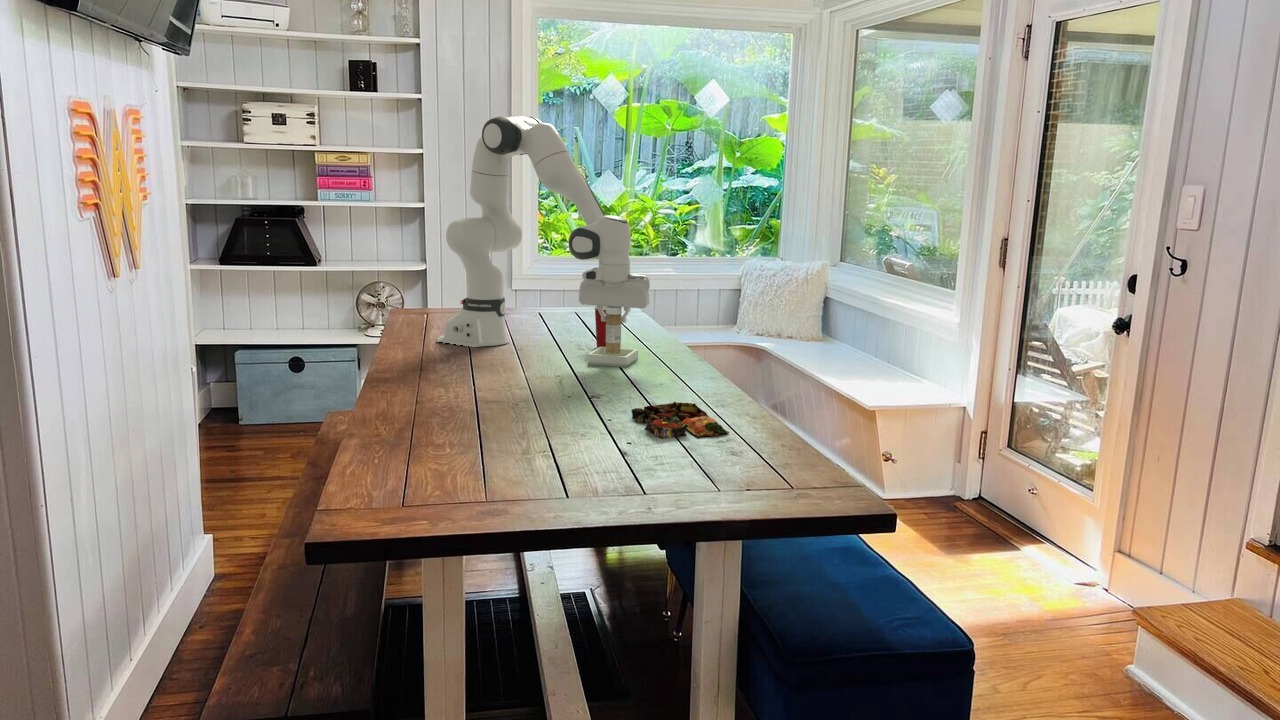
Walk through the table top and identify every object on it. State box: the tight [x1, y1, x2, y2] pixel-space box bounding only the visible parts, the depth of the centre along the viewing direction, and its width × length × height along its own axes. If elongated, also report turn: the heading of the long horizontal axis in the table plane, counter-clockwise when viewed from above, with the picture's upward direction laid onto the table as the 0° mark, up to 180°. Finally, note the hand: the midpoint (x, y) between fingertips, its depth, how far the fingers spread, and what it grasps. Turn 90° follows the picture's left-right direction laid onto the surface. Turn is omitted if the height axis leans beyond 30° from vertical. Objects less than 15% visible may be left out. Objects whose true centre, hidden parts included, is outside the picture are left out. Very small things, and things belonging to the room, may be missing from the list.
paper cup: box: [593, 305, 608, 349], centre depth 284 cm, size 8×8×14 cm
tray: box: [587, 347, 639, 368], centre depth 266 cm, size 12×12×3 cm
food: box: [631, 401, 730, 440], centre depth 205 cm, size 22×19×4 cm
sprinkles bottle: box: [606, 306, 623, 354], centre depth 265 cm, size 5×5×14 cm
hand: (613, 321), depth 264 cm, fingers closed on sprinkles bottle, 4 cm apart
